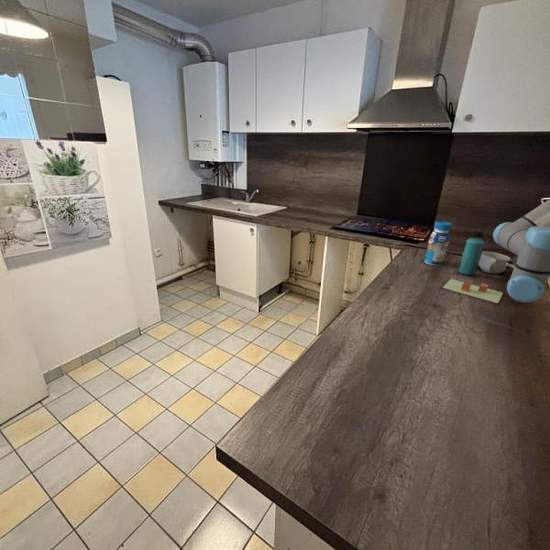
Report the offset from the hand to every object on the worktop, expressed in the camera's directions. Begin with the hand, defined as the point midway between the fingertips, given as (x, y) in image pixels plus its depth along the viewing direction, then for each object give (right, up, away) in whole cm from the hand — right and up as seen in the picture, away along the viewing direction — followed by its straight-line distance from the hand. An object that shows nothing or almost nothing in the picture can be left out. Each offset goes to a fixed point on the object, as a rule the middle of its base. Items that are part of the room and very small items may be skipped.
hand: (535, 257), depth 102 cm
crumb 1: (-19, -12, +10) cm, 24 cm away
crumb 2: (-12, -12, +9) cm, 20 cm away
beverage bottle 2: (-8, -7, +26) cm, 28 cm away
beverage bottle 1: (-15, -1, +39) cm, 42 cm away
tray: (-16, -13, +10) cm, 23 cm away
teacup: (+6, -5, +30) cm, 31 cm away
